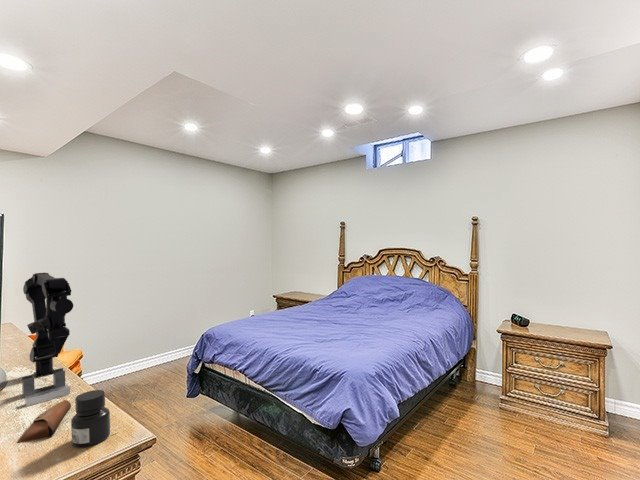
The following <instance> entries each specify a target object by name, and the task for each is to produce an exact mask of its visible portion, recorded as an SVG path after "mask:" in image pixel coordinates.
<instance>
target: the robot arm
mask: <svg viewBox="0 0 640 480" xmlns="http://www.w3.org/2000/svg"><path fill="white" fill-rule="evenodd" d="M22 290H23V294H24V295H25V298H26V300H27V301H28V302H29V303H30V304H31V306H32V315H33V320H34V321H33V322H30V323H27V325H26V326H27V328H28V330H29V332H30V335H35V339H34V341H33V343H32V347H31V350H30V353H29V361H30V362H32V363H34V365H35V371H34V372H33V376H34V378H40V377H43V376H48V375H53V370H55V369H54V359H53V358H58V357H59V354H60V353H61V352H62V350H63V347H64V346H65V343H66V341H67V340H68V338H69V336H70V333H71V332H70V331H71V330H70V329H69V328H68V327H67V323H66V316H67V315H66V314H68V313H70V312H71V311H72V310H73V308H74V303H73V301H72V300H71V299H69V298H68V297H70V296H71V294H72V289H71V285H70V283H69V282H68V279H67V280H66V278H65V277H54V276H52V275H51V274H50V273H49V272H38V273H37V272H35V273H33V274H32V276H31V277H30V278H29V279H27V280H26V281H24V285H23V288H22Z"/></svg>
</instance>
